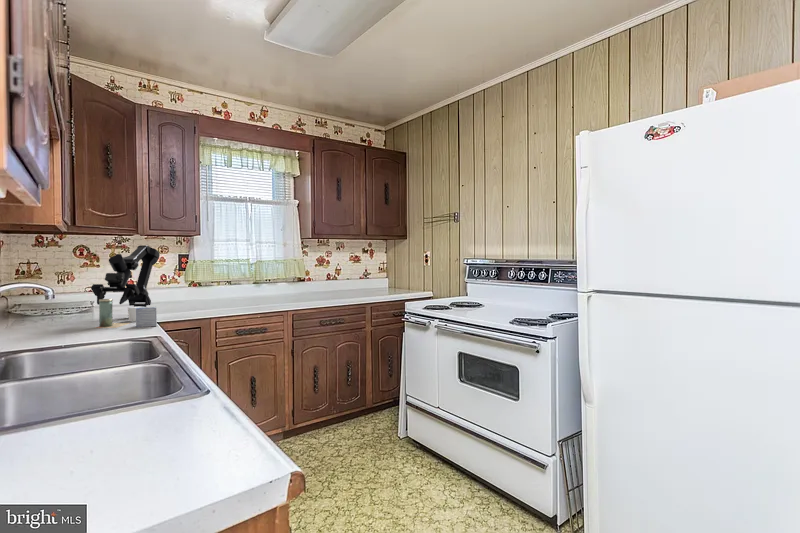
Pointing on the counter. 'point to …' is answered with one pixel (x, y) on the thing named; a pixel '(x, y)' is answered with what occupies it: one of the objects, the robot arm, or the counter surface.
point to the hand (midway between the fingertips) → (108, 303)
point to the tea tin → (105, 312)
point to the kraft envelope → (115, 325)
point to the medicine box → (146, 316)
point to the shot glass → (132, 313)
